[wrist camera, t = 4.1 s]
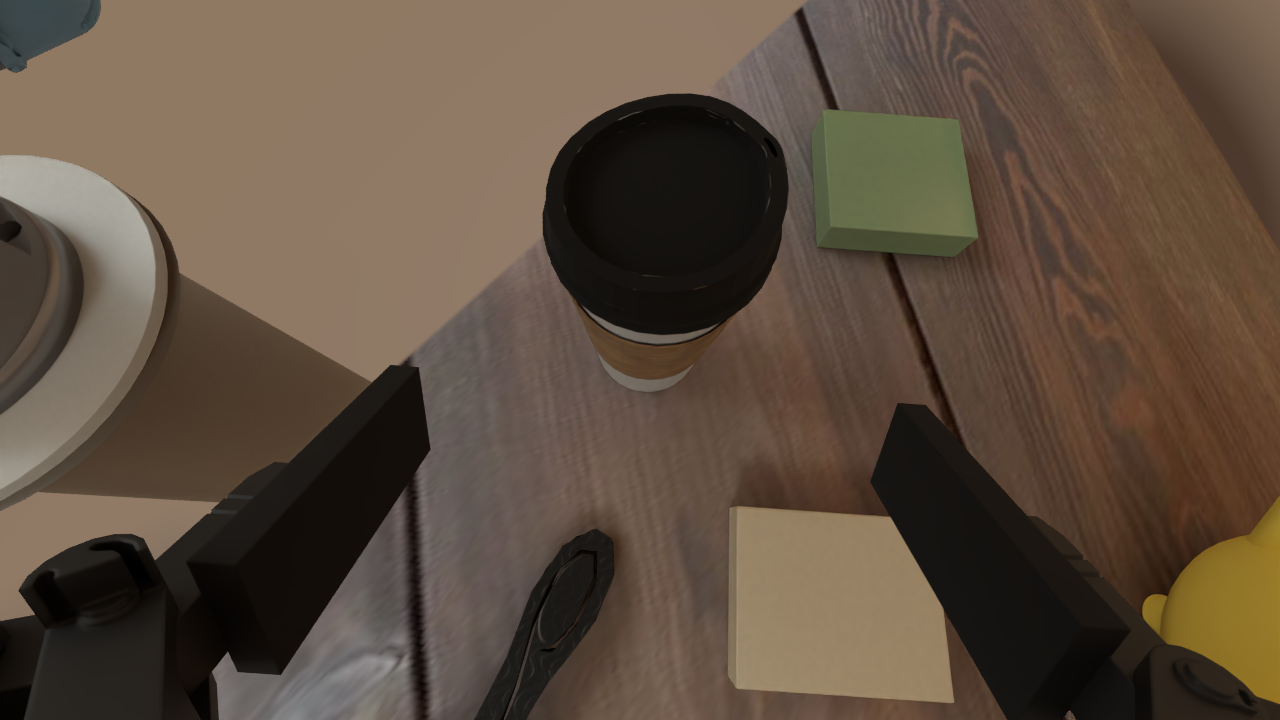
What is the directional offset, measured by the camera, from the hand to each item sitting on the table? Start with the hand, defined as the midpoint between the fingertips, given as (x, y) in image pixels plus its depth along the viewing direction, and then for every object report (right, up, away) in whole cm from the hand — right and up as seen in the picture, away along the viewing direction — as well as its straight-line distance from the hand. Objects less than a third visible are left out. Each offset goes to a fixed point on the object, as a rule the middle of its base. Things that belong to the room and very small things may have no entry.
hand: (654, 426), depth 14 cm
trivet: (+16, +13, +20) cm, 28 cm away
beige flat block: (+9, -10, +12) cm, 18 cm away
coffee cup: (0, +3, +16) cm, 16 cm away
